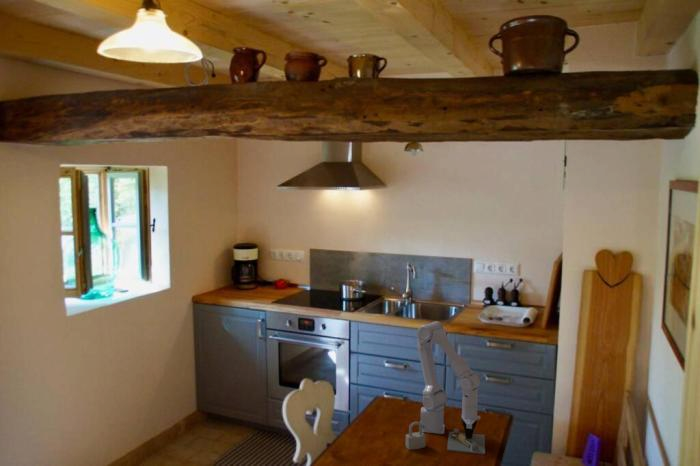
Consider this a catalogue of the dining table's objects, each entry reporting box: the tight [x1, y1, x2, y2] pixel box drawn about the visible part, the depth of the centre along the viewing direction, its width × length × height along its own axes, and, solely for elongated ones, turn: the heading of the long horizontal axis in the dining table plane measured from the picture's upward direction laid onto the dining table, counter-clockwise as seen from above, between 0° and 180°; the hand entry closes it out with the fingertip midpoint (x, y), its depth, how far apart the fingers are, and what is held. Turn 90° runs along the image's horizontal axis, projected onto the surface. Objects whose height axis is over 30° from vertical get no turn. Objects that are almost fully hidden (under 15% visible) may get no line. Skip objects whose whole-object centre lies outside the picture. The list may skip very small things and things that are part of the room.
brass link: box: [451, 431, 470, 447], centre depth 222 cm, size 12×4×1 cm, turn 26°
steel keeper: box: [466, 439, 476, 450], centre depth 216 cm, size 4×2×2 cm, turn 22°
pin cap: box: [453, 428, 460, 434], centre depth 225 cm, size 2×2×1 cm
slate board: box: [446, 431, 486, 455], centre depth 221 cm, size 14×16×1 cm
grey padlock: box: [405, 421, 426, 451], centre depth 218 cm, size 7×4×10 cm, turn 109°
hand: (468, 438), depth 222 cm, fingers closed, pressing on brass link
